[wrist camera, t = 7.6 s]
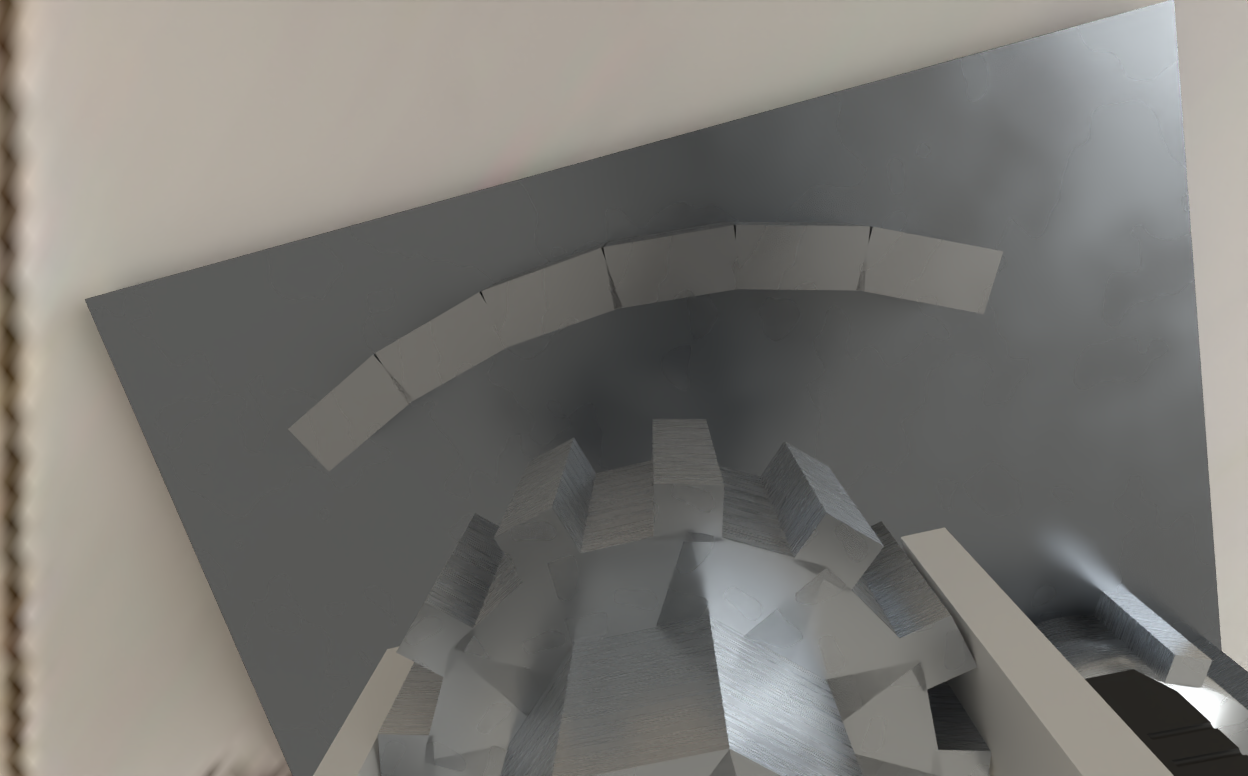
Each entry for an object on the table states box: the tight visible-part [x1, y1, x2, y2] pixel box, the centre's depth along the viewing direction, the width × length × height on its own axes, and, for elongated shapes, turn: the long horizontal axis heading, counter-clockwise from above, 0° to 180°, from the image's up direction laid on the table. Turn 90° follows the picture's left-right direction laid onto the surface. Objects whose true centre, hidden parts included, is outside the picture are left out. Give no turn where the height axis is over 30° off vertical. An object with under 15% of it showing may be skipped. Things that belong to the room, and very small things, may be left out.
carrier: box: [85, 0, 1248, 776], centre depth 19 cm, size 26×28×7 cm
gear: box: [378, 419, 991, 776], centre depth 11 cm, size 9×9×6 cm
